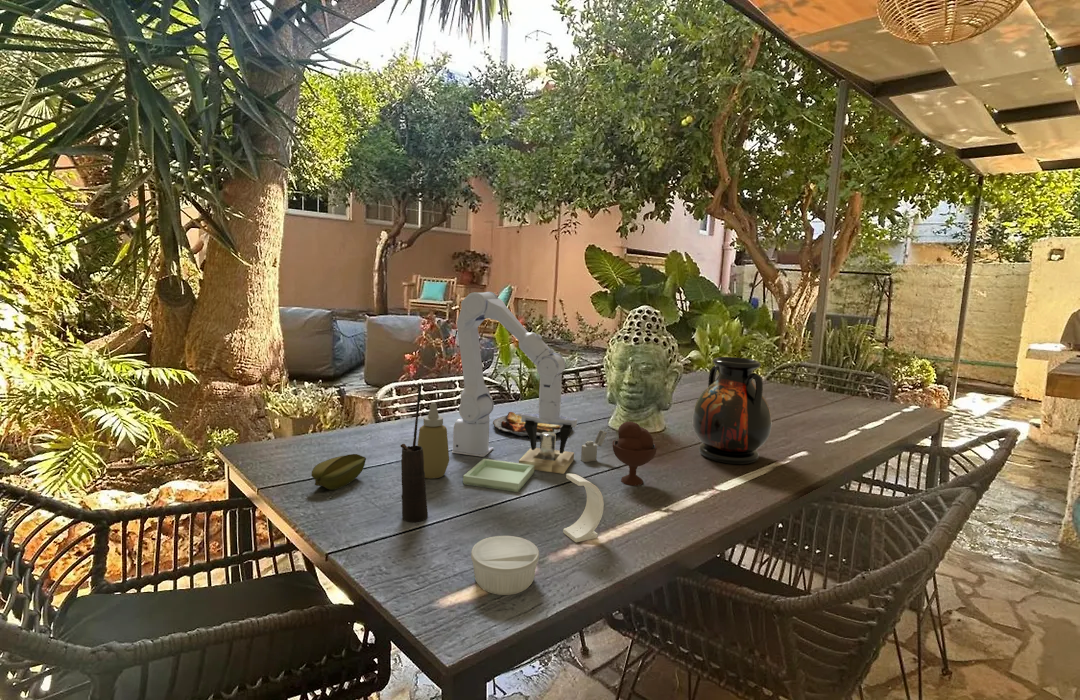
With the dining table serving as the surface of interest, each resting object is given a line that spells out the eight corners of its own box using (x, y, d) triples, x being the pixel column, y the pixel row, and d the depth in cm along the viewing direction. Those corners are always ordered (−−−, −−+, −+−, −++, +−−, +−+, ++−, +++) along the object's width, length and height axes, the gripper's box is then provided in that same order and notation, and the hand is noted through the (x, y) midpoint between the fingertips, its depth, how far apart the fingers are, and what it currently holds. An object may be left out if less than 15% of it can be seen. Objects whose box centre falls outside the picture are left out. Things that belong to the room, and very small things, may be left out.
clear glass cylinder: (537, 464, 153) (538, 435, 152) (541, 460, 157) (542, 431, 156) (552, 466, 152) (553, 437, 151) (556, 462, 156) (557, 433, 155)
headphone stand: (563, 532, 115) (566, 473, 113) (588, 527, 117) (592, 469, 116) (575, 542, 111) (579, 481, 109) (601, 536, 113) (605, 477, 112)
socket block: (518, 467, 150) (518, 460, 150) (531, 454, 162) (531, 447, 162) (563, 473, 147) (564, 466, 147) (573, 459, 159) (574, 452, 159)
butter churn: (377, 514, 119) (377, 379, 115) (417, 503, 126) (419, 374, 122) (401, 530, 113) (402, 387, 109) (442, 517, 119) (445, 382, 115)
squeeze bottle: (454, 472, 145) (456, 401, 143) (438, 483, 138) (440, 408, 135) (426, 467, 148) (427, 397, 145) (408, 477, 140) (409, 404, 138)
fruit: (312, 477, 138) (312, 450, 137) (365, 473, 142) (365, 447, 141) (311, 496, 127) (311, 466, 126) (368, 491, 131) (368, 463, 130)
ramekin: (503, 608, 88) (505, 576, 88) (455, 580, 96) (456, 550, 95) (552, 581, 97) (553, 551, 96) (504, 557, 104) (505, 529, 103)
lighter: (584, 462, 157) (585, 433, 156) (580, 460, 159) (582, 431, 157) (605, 458, 161) (607, 430, 160) (601, 457, 162) (603, 429, 161)
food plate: (481, 433, 180) (482, 422, 180) (507, 416, 202) (508, 406, 202) (560, 444, 173) (560, 432, 173) (578, 425, 195) (578, 415, 195)
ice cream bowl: (627, 492, 137) (632, 430, 135) (601, 476, 147) (605, 418, 144) (663, 486, 142) (668, 426, 140) (635, 471, 151) (639, 415, 149)
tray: (462, 484, 138) (463, 475, 137) (483, 466, 151) (483, 458, 150) (518, 492, 134) (518, 483, 134) (534, 472, 147) (534, 465, 147)
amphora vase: (673, 449, 172) (681, 355, 168) (728, 442, 182) (736, 353, 178) (727, 473, 153) (737, 368, 149) (785, 463, 163) (795, 365, 159)
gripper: (518, 400, 150) (516, 451, 152) (573, 406, 147) (571, 458, 149) (526, 395, 157) (524, 444, 159) (579, 400, 153) (576, 450, 155)
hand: (547, 450), depth 154 cm, fingers open, 7 cm apart
